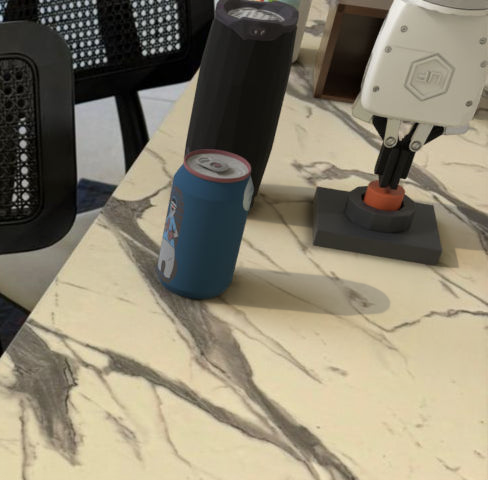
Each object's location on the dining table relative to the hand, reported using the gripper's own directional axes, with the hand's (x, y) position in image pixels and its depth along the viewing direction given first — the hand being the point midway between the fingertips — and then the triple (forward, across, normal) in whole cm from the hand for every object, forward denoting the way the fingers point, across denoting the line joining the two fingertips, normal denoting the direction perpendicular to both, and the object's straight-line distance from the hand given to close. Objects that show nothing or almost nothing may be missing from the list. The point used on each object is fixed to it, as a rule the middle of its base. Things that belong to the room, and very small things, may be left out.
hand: (387, 182), depth 101 cm
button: (+2, 0, 0) cm, 2 cm away
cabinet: (+6, +1, +40) cm, 41 cm away
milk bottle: (+6, -12, +49) cm, 51 cm away
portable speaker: (+6, -16, +2) cm, 17 cm away
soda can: (+6, -17, -16) cm, 24 cm away
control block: (+6, 0, 0) cm, 6 cm away
